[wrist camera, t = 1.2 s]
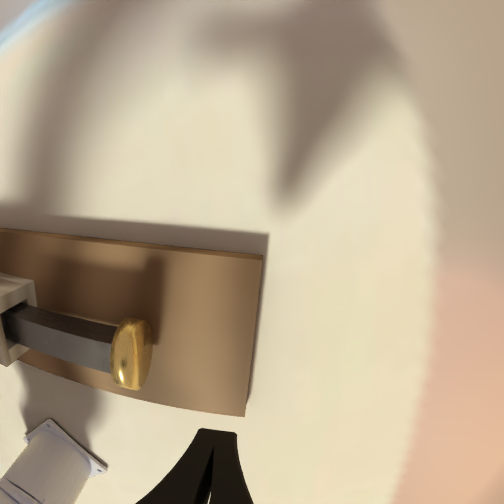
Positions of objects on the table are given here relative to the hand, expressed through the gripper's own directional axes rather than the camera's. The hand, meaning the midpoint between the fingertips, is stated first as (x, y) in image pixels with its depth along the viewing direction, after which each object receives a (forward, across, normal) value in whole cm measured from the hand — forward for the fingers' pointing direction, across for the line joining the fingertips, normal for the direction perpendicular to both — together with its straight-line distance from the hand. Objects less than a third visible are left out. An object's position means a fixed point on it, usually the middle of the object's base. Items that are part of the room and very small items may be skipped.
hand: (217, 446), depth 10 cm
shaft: (+8, +11, 0) cm, 13 cm away
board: (+9, +12, 0) cm, 15 cm away
